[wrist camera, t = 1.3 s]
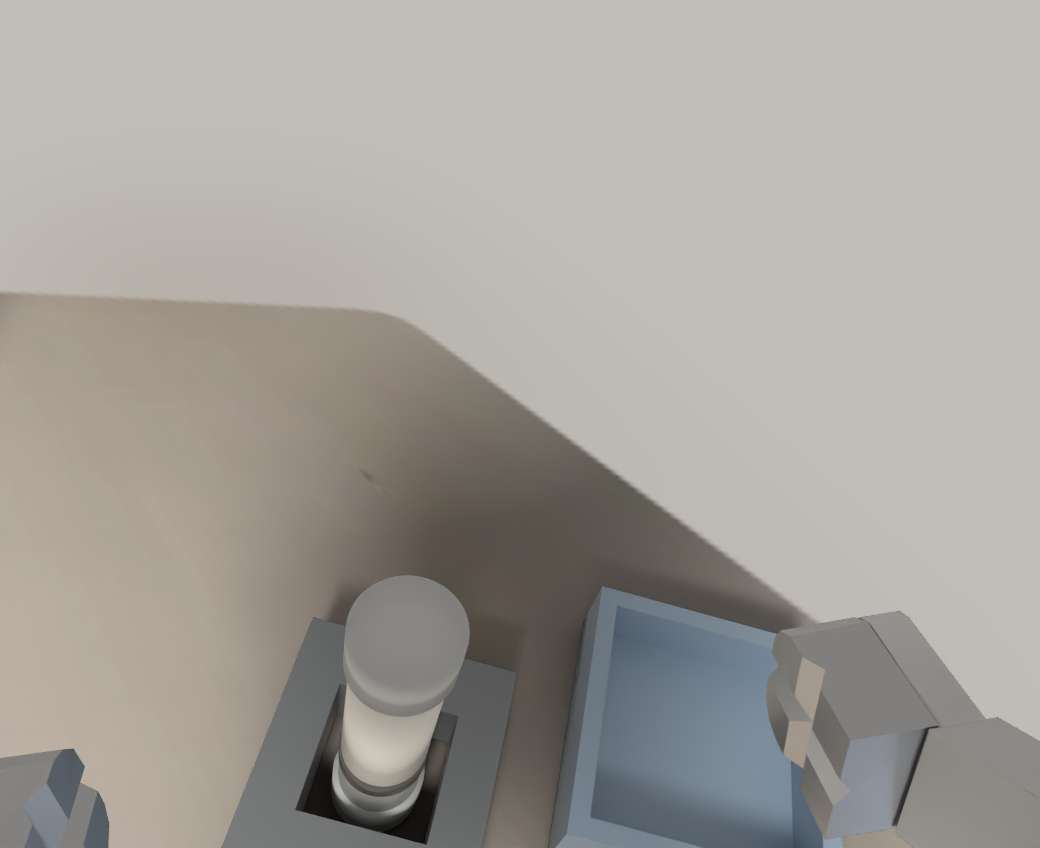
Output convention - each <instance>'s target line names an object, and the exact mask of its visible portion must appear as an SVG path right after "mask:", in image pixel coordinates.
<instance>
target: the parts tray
mask: <svg viewBox="0 0 1040 848" xmlns="http://www.w3.org/2000/svg"><path fill="white" fill-rule="evenodd" d="M776 635H777V634H775V633H772V632H768V631H764V630H761V629H757V628H753V627H750V626H746V625H742V624H739V623H735V622H732V621H728V620H724V619H721V618H717V617H713V616H710V615H706V614H702V613H699V612H695V611H691V610H688V609H684V608H680V607H677V606H673V605H670V604H666V603H662V602H659V601H655V600H651V599H648V598H644V597H640V596H637V595H633V594H629V593H626V592H622V591H619V590H615V589H611V588H608V587H604V586H602V588H601V590H600V591H599V593H598V595H597V597H596V599H595V601H594V603H593V605H592V606H591V608H590V610H589V612H588V614H587V616H586V618H585V620H584V622H583V628H582V634H581V641H580V647H579V654H578V660H577V667H576V673H575V679H574V686H573V692H572V699H571V705H570V712H569V718H568V724H567V731H566V737H565V744H564V750H563V757H562V763H561V770H560V776H559V782H558V789H557V795H556V802H555V808H554V815H553V821H552V827H551V834H550V840H549V847H548V848H842V837H840V838H834V839H828V840H825V839H824V837H823V835H822V833H821V831H820V829H819V827H818V825H817V823H816V821H815V819H814V817H813V815H812V813H811V811H810V809H809V807H808V805H807V803H806V801H805V799H804V797H803V795H802V793H801V791H800V789H799V787H800V782H801V777H802V773H803V768H801V767H800V766H798V765H797V764H796V763H794V762H793V761H791V760H790V759H788V758H787V757H786V756H784V755H783V753H782V751H781V749H780V747H779V745H778V743H777V740H776V738H775V736H774V733H773V730H772V727H771V724H770V721H769V717H768V710H767V703H766V689H767V680H768V677H769V676H770V675H771V674H772V673H773V672H774V671H775V670H776V669H777V667H778V666H779V665H778V663H777V661H776V660H775V658H774V656H773V654H772V649H773V643H774V638H775V637H776Z"/></svg>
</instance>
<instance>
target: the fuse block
mask: <svg viewBox="0 0 1040 848" xmlns="http://www.w3.org/2000/svg"><path fill="white" fill-rule="evenodd" d="M345 630H346V626H344V625H340V624H337V623H333V622H329V621H325V620H322V619H318V618H314V617H313V619H312V622H311V624H310V627H309V629H308V632H307V634H306V637H305V639H304V642H303V644H302V647H301V649H300V652H299V654H298V657H297V659H296V662H295V664H294V667H293V669H292V672H291V674H290V677H289V679H288V682H287V684H286V687H285V689H284V692H283V694H282V697H281V700H280V702H279V705H278V707H277V710H276V712H275V715H274V717H273V720H272V722H271V725H270V727H269V730H268V732H267V735H266V737H265V740H264V742H263V745H262V747H261V750H260V752H259V755H258V757H257V760H256V762H255V765H254V767H253V770H252V772H251V775H250V777H249V780H248V782H247V785H246V787H245V790H244V792H243V795H242V797H241V800H240V802H239V805H238V807H237V810H236V812H235V815H234V817H233V820H232V823H231V825H230V828H229V830H228V833H227V835H226V838H225V840H224V843H223V845H222V848H482V843H483V838H484V834H485V829H486V824H487V819H488V814H489V809H490V804H491V799H492V795H493V790H494V785H495V780H496V775H497V770H498V765H499V760H500V756H501V751H502V746H503V741H504V736H505V731H506V726H507V721H508V716H509V712H510V707H511V702H512V697H513V692H514V687H515V682H516V677H517V672H513V671H510V670H506V669H502V668H499V667H495V666H491V665H488V664H484V663H480V662H477V661H473V660H469V659H465V658H464V660H463V663H462V666H461V669H460V672H459V675H458V678H457V681H456V683H455V685H454V687H453V689H452V691H451V692H450V694H449V695H448V696H447V697H446V698H445V699H444V701H443V704H442V707H441V710H440V713H439V717H438V720H437V723H436V726H435V729H434V732H433V735H432V738H433V739H437V740H441V741H444V742H448V743H449V744H448V748H447V752H446V756H445V760H444V764H443V768H442V772H441V776H440V780H439V784H438V788H437V792H436V796H435V800H434V804H433V808H432V813H431V817H430V821H429V825H428V829H427V833H426V837H425V841H424V844H421V843H417V842H414V841H410V840H406V839H402V838H399V837H395V836H391V835H387V834H384V833H380V832H376V831H372V830H369V829H365V828H361V827H357V826H354V825H350V824H346V823H342V822H339V821H335V820H331V819H327V818H324V817H320V816H316V815H312V814H309V813H305V812H303V809H304V806H305V804H306V801H307V798H308V795H309V792H310V789H311V786H312V783H313V781H314V778H315V775H316V772H317V769H318V766H319V763H320V760H321V757H322V755H323V752H324V749H325V746H326V743H327V740H328V737H329V734H330V732H331V729H332V726H333V723H334V720H335V717H336V714H337V713H340V714H344V707H345V698H346V688H347V681H346V678H345V674H344V669H343V652H344V641H345Z"/></svg>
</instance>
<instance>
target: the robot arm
mask: <svg viewBox="0 0 1040 848" xmlns="http://www.w3.org/2000/svg"><path fill="white" fill-rule="evenodd" d="M772 654H773V656H774V658H775V660H776V661H777V663H778V665H779V666H778V667H777V669H776V670H775V671H774V672H773V673H772V674H771V675H770V676H769V677H768V680H767V689H766V703H767V710H768V717H769V721H770V724H771V727H772V730H773V733H774V736H775V738H776V740H777V743H778V745H779V747H780V749H781V751H782V753H783V755H784V756H786V757H787V758H788V759H790V760H791V761H793V762H794V763H796V764H797V765H798V766H800V767H801V768H803V773H802V777H801V782H800V787H799V789H800V791H801V793H802V795H803V797H804V799H805V801H806V803H807V805H808V807H809V809H810V811H811V813H812V815H813V817H814V819H815V821H816V823H817V825H818V827H819V829H820V831H821V833H822V835H823V837H824V839H825V840H828V839H834V838H840V837H846V836H852V835H859V834H865V833H871V832H877V831H883V830H889V829H896V830H895V833H896V834H897V835H898V836H899V837H901V838H902V839H903V840H904V841H905V842H907V843H908V844H909V845H910V846H911V847H913V848H1040V741H1039V740H1037V739H1035V738H1033V737H1032V736H1030V735H1028V734H1026V733H1024V732H1023V731H1021V730H1019V729H1018V728H1016V727H1014V726H1012V725H1011V724H1009V723H1007V722H1005V721H1004V720H1002V719H1000V718H998V717H996V718H989V719H985V717H984V716H983V715H982V714H981V712H980V711H979V709H978V708H977V707H976V705H975V704H974V703H973V701H972V700H971V699H970V698H969V696H968V695H967V694H966V692H965V691H964V690H963V688H962V687H961V686H960V684H959V683H958V682H957V680H956V679H955V678H954V676H953V675H952V674H951V672H950V671H949V670H948V668H947V667H946V666H945V664H944V663H943V662H942V660H941V659H940V658H939V656H938V655H937V654H936V652H935V651H934V650H933V648H932V647H931V646H930V644H929V643H928V642H927V641H926V639H925V638H924V637H923V635H922V634H921V633H920V631H919V630H918V629H917V627H916V626H915V625H914V623H913V622H912V621H911V619H910V618H909V617H908V616H906V615H905V614H903V613H902V612H900V611H896V612H890V613H883V614H877V615H872V616H865V617H860V618H849V619H842V620H837V621H832V622H826V623H820V624H814V625H809V626H803V627H798V628H792V629H786V630H781V631H779V633H778V634H777V635H776V637H775V638H774V643H773V649H772ZM84 767H85V766H84V765H83V763H82V762H81V760H80V758H79V757H78V755H77V754H76V752H75V750H74V749H64V750H56V751H49V752H42V753H34V754H27V755H20V756H13V757H5V758H0V848H108V839H109V821H108V817H107V812H106V808H105V804H104V802H103V800H102V798H101V796H100V794H99V792H98V791H97V790H95V789H92V788H90V787H88V786H86V785H84V784H82V783H80V781H81V777H82V774H83V771H84Z"/></svg>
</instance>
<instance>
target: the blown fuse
mask: <svg viewBox="0 0 1040 848" xmlns="http://www.w3.org/2000/svg"><path fill="white" fill-rule="evenodd" d="M469 639H470V628H469V621H468V617H467V615H466V612H465V610H464V608H463V606H462V604H461V603H460V601H459V600H458V599H457V597H456V596H455V595H454V594H453V593H452V592H451V591H449V590H448V589H447V588H446V587H444V586H443V585H441V584H439V583H437V582H435V581H433V580H431V579H428V578H425V577H420V576H413V575H400V576H394V577H390V578H386V579H383V580H381V581H379V582H377V583H375V584H373V585H371V586H370V587H369V588H367V589H366V590H365V591H364V592H363V593H362V594H361V595H360V596H359V597H358V598H357V599H356V601H355V602H354V604H353V605H352V607H351V610H350V612H349V614H348V618H347V622H346V630H345V641H344V652H343V669H344V674H345V678H346V681H347V688H346V698H345V707H344V717H343V726H342V731H341V735H340V742H339V750H338V752H337V754H336V757H335V760H334V764H333V773H332V783H331V794H332V800H333V804H334V806H335V809H336V811H337V812H338V814H339V815H340V817H341V818H342V819H343V820H344V821H345V822H346V823H347V824H350V825H354V826H357V827H361V828H365V829H369V830H372V831H376V832H382V831H386V830H389V829H392V828H393V827H395V826H397V825H399V824H400V823H401V822H403V821H404V820H405V819H406V818H407V817H408V815H409V814H410V813H411V811H412V810H413V808H414V806H415V804H416V801H417V798H418V795H419V792H420V789H421V786H422V783H423V780H424V773H425V762H426V759H427V755H428V752H429V745H430V742H431V739H432V735H433V732H434V729H435V726H436V723H437V720H438V717H439V713H440V710H441V707H442V704H443V701H444V699H445V698H446V697H447V696H448V695H449V694H450V692H451V691H452V689H453V687H454V685H455V683H456V681H457V678H458V675H459V672H460V669H461V666H462V663H463V660H464V657H465V654H466V651H467V648H468V645H469Z"/></svg>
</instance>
